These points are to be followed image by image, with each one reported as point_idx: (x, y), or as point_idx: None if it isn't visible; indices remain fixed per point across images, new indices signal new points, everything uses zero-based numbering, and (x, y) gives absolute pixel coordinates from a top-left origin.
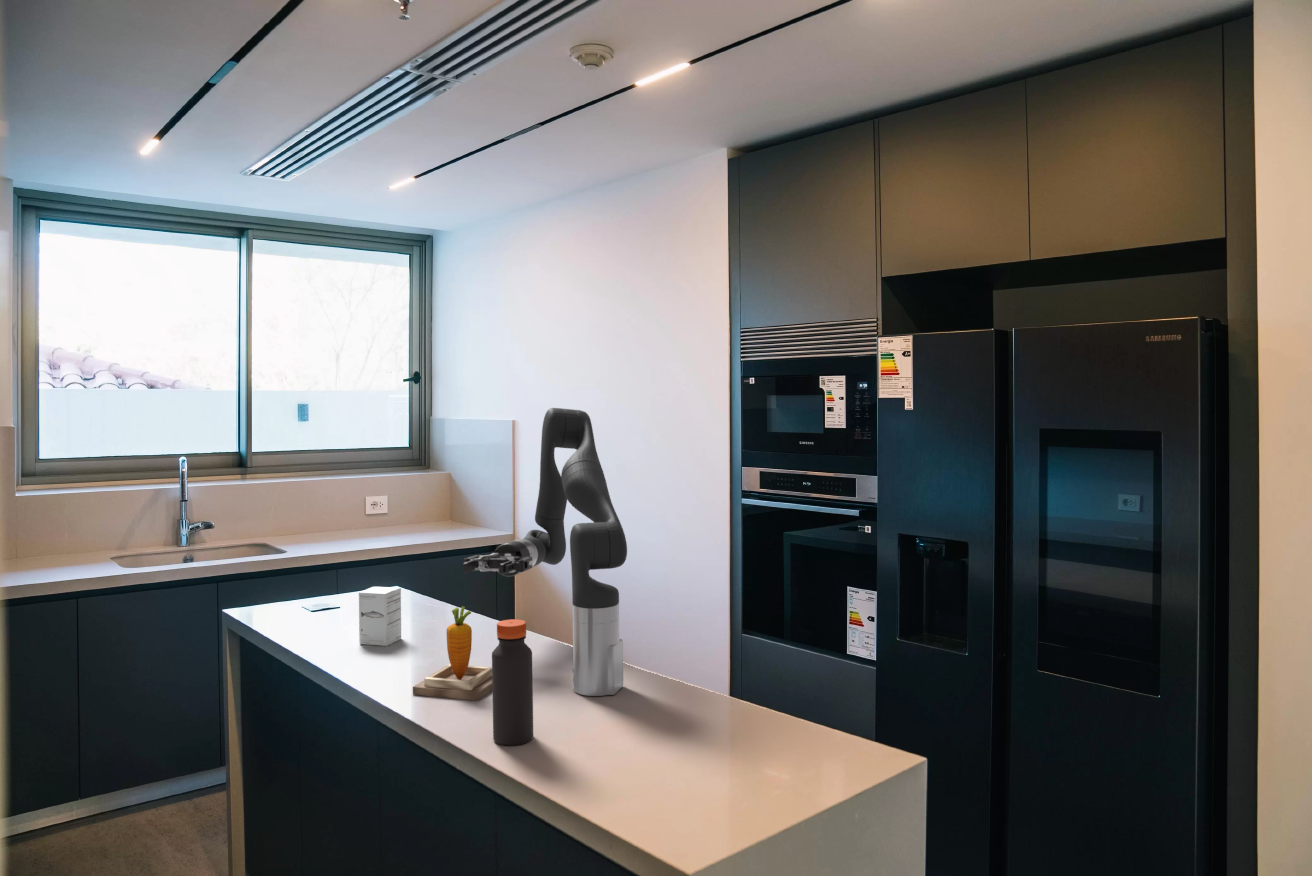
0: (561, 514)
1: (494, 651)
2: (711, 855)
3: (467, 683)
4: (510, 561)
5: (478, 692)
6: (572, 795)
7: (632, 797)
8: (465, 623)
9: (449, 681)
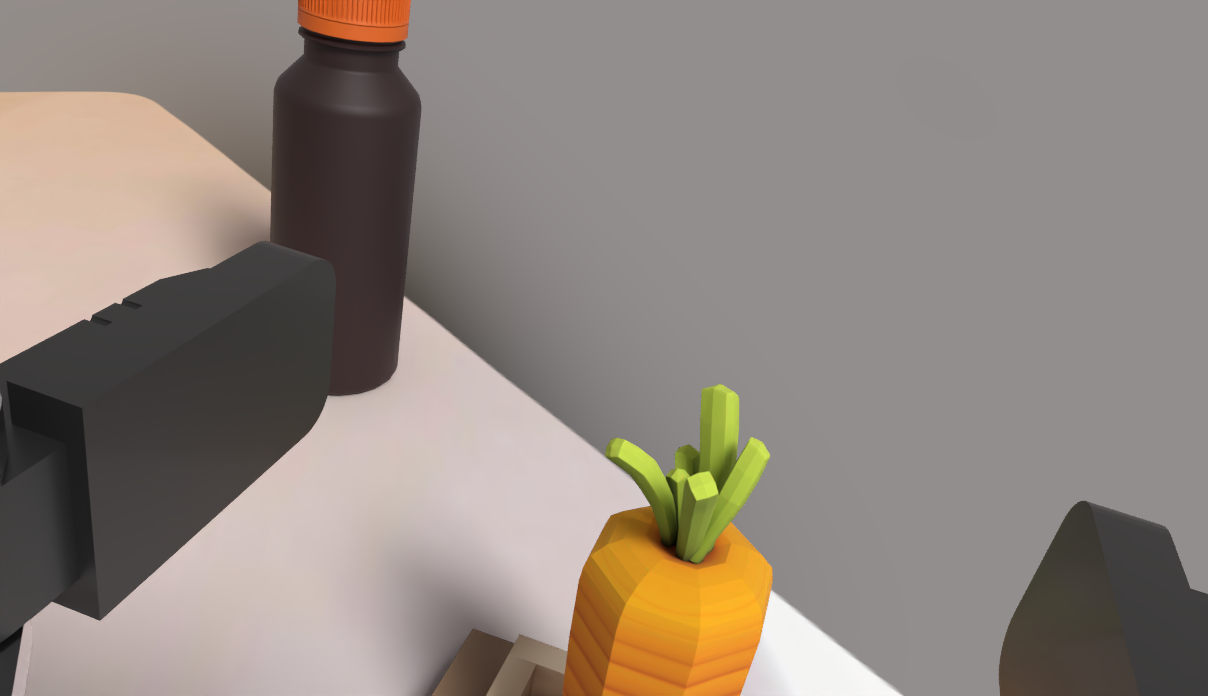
0: None
1: (413, 87)
2: (89, 94)
3: (534, 644)
4: (11, 381)
5: (467, 638)
6: (243, 197)
7: (126, 172)
8: (644, 559)
9: None
